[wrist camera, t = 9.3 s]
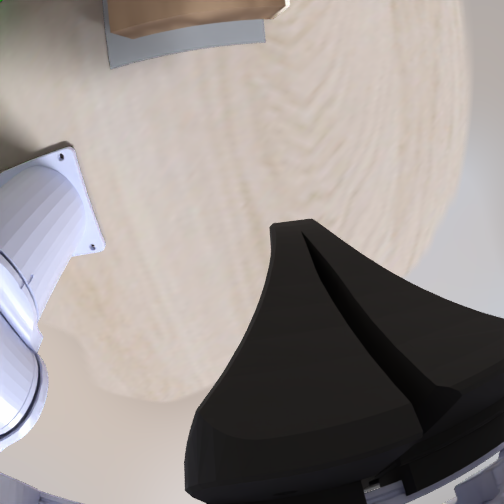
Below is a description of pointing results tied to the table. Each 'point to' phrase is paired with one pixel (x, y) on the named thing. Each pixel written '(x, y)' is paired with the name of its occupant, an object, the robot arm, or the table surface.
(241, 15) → the walnut block
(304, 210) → the table surface
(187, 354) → the table surface
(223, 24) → the mat
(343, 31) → the table surface
